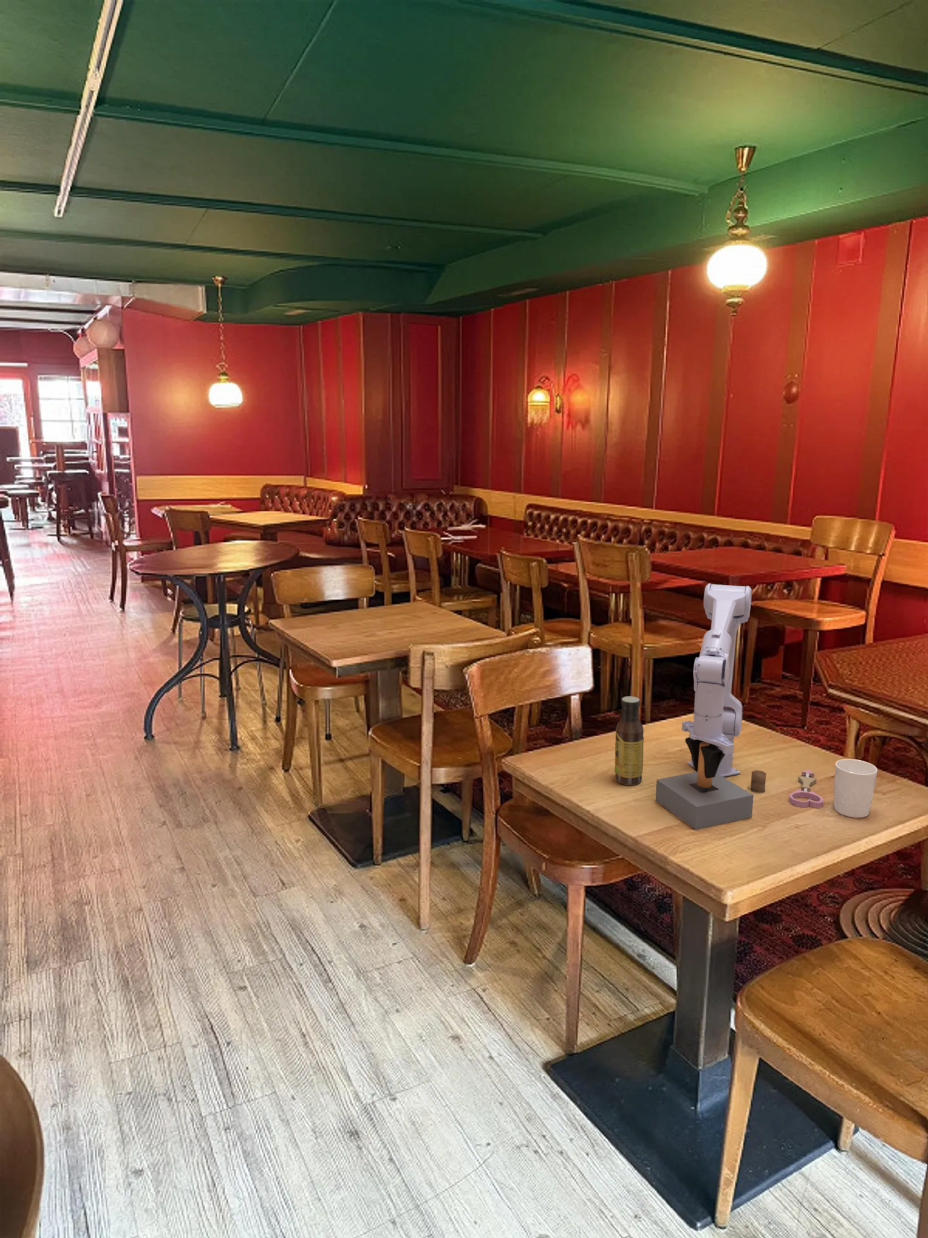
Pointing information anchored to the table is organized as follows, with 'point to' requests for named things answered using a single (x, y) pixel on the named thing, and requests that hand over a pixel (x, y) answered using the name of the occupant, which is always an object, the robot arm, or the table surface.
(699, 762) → the long peg
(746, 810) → the bored block
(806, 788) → the decorative key
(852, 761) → the white cup
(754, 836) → the table surface
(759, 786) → the short peg
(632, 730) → the sauce bottle
